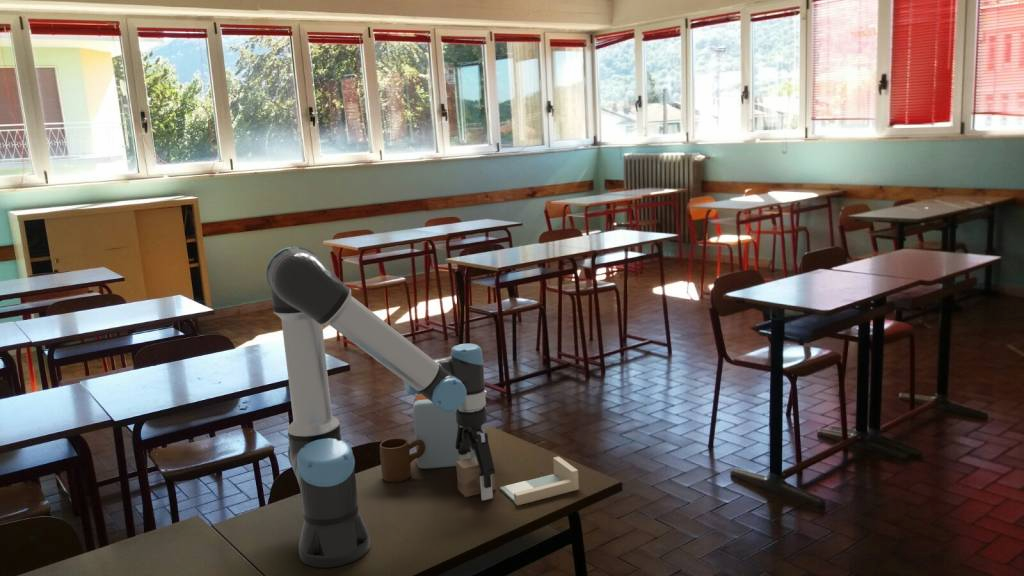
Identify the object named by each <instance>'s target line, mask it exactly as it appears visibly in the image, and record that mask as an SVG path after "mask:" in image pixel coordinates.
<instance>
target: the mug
mask: <svg viewBox="0 0 1024 576" xmlns="http://www.w3.org/2000/svg"><path fill="white" fill-rule="evenodd" d="M416 445H419V450H418V451H413V452H412V453H410V450H412V449H413V448H414V447H416ZM424 451H425V444H424V442H423V441H422V440H419V439H413V440H411V441H410V442H409V441H408V440H407V439H406V438H402V437H401V438H399V437H396V438H395V437H394V438H393V437H392V438H389V439H388V438H387V439H385V440H383V441H382V442H381V443H380V444H379V455H380V456H379V458H380V459H379V460H380V468H381V476H382V479H383V480H384V481H385V482H388V483H399V482H400V483H401V482H403V481H406V480H408V479H409V478H410V477H411V476H412V466H411V463H412V462H413V461H415V459H416V460H417V458H419V457H420V456H422V455H423V453H424Z"/></svg>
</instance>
